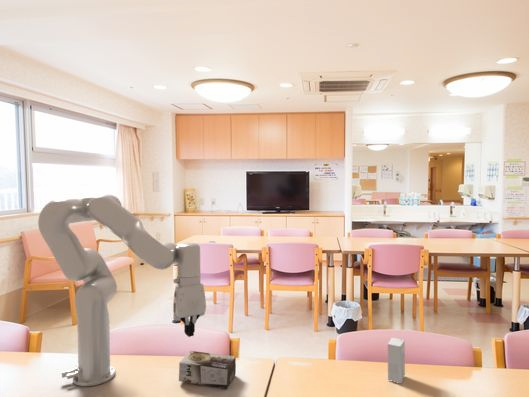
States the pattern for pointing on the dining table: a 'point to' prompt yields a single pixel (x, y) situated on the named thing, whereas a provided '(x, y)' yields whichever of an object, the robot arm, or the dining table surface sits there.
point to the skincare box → (396, 360)
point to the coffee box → (207, 369)
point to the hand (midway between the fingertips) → (189, 335)
